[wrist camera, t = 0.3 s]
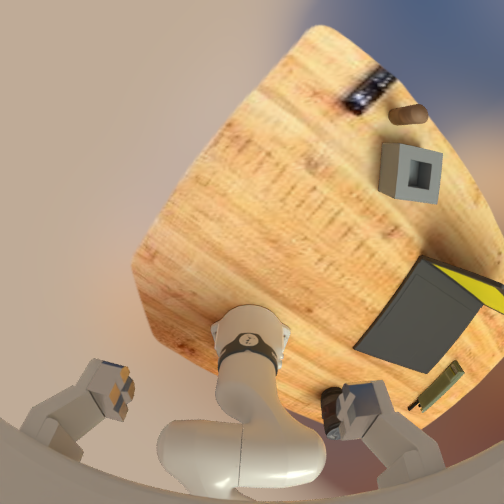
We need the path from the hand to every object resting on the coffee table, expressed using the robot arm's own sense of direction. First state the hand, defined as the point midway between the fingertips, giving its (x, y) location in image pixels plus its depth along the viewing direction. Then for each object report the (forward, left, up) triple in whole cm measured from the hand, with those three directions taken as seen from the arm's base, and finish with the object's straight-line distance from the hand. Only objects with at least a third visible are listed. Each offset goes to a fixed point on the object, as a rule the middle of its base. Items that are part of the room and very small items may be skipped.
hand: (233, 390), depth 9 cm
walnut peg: (+17, -27, -47) cm, 57 cm away
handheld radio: (-61, -63, -47) cm, 100 cm away
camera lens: (-58, -24, -47) cm, 78 cm away
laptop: (-30, -48, -47) cm, 74 cm away
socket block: (+6, -29, -47) cm, 56 cm away
